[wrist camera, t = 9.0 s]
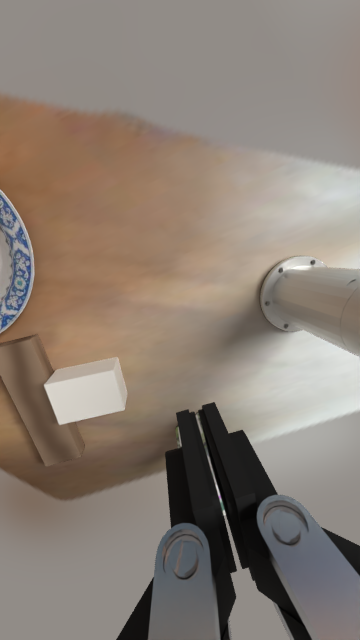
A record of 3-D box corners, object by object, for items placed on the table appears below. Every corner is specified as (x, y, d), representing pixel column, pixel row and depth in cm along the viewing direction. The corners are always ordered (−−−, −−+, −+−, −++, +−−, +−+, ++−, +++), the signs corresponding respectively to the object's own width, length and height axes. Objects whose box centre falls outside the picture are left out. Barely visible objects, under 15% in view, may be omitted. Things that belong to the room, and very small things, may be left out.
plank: (37, 334, 37) (29, 339, 34) (84, 445, 43) (81, 456, 40) (-2, 343, 36) (-13, 350, 34) (51, 454, 43) (46, 466, 40)
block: (117, 356, 39) (113, 370, 35) (127, 392, 41) (124, 410, 37) (56, 368, 39) (43, 384, 34) (69, 405, 41) (59, 425, 36)
